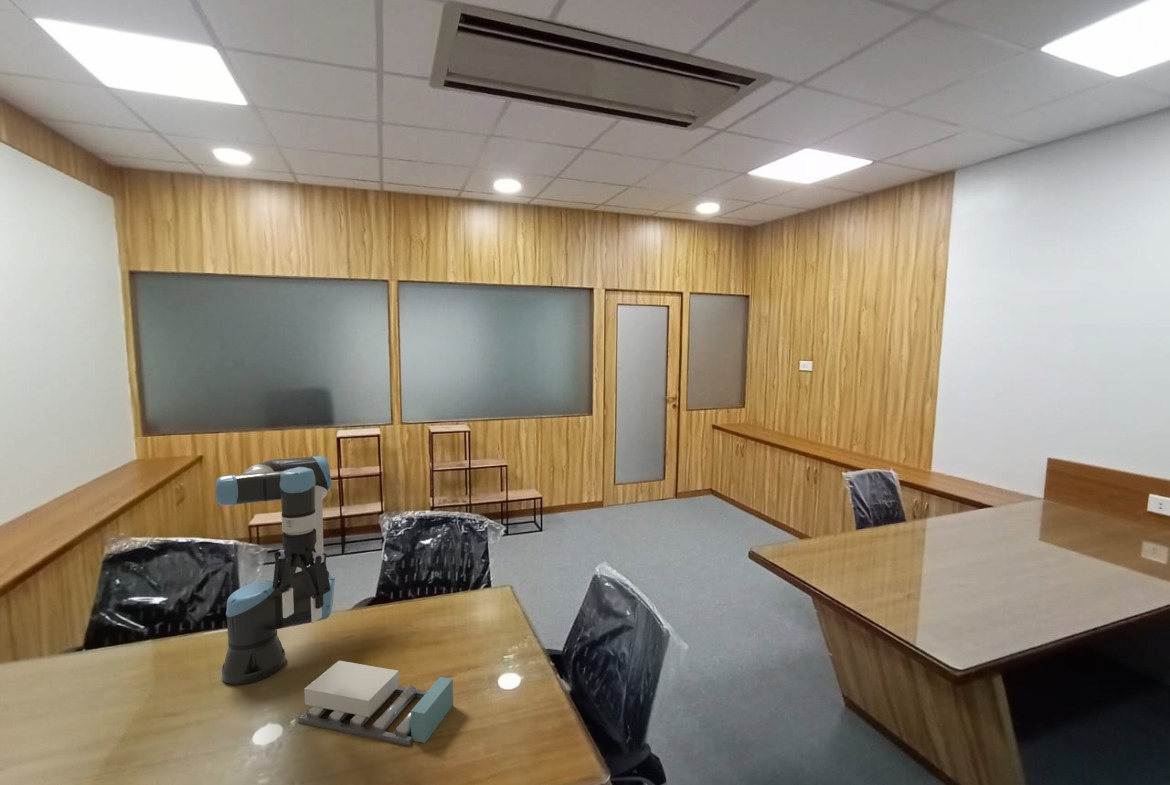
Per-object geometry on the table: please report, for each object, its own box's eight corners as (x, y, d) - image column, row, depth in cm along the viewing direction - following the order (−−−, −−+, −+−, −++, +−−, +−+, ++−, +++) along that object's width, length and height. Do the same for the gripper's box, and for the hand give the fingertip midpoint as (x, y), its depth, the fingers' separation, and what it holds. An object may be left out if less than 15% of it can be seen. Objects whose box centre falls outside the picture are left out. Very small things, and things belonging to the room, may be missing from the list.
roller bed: (409, 745, 117) (408, 733, 116) (298, 722, 124) (297, 710, 124) (445, 699, 132) (445, 688, 132) (345, 681, 140) (345, 670, 140)
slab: (304, 704, 126) (304, 688, 126) (339, 674, 137) (339, 660, 137) (368, 717, 121) (368, 700, 121) (399, 685, 133) (398, 670, 133)
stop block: (411, 740, 118) (410, 711, 118) (440, 703, 131) (440, 676, 130) (424, 742, 118) (424, 713, 117) (453, 705, 130) (452, 678, 130)
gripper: (252, 531, 129) (256, 619, 131) (323, 539, 124) (326, 630, 126) (277, 522, 136) (280, 605, 138) (345, 529, 131) (347, 615, 133)
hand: (302, 617), depth 132 cm, fingers open, 8 cm apart
